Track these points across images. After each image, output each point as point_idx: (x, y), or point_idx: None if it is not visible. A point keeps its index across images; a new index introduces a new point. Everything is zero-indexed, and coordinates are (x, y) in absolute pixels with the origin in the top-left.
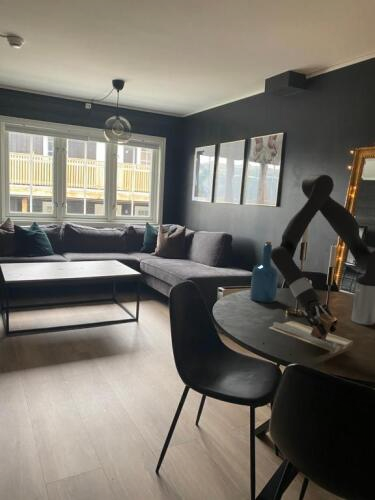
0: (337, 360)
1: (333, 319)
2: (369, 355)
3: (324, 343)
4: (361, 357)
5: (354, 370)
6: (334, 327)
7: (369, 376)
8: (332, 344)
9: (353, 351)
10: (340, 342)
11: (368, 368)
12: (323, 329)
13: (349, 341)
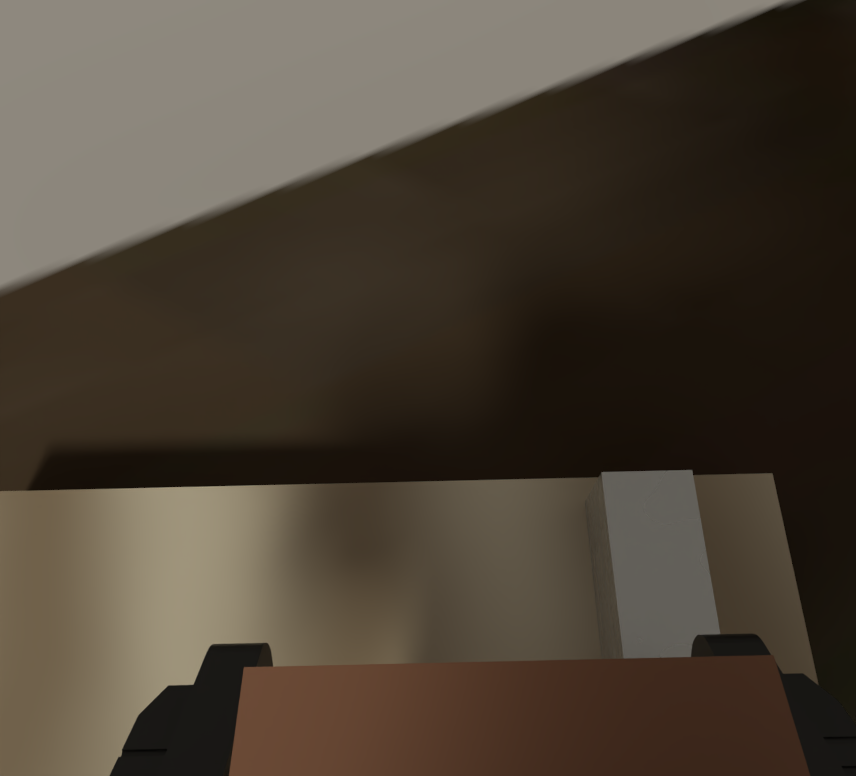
0: (799, 344)
1: (279, 676)
2: (227, 216)
3: None
4: (390, 236)
5: (834, 121)
6: (238, 684)
7: (799, 3)
8: (687, 488)
9: (272, 382)
10: (235, 586)
11: (627, 76)
12: (808, 737)
13: (40, 520)
